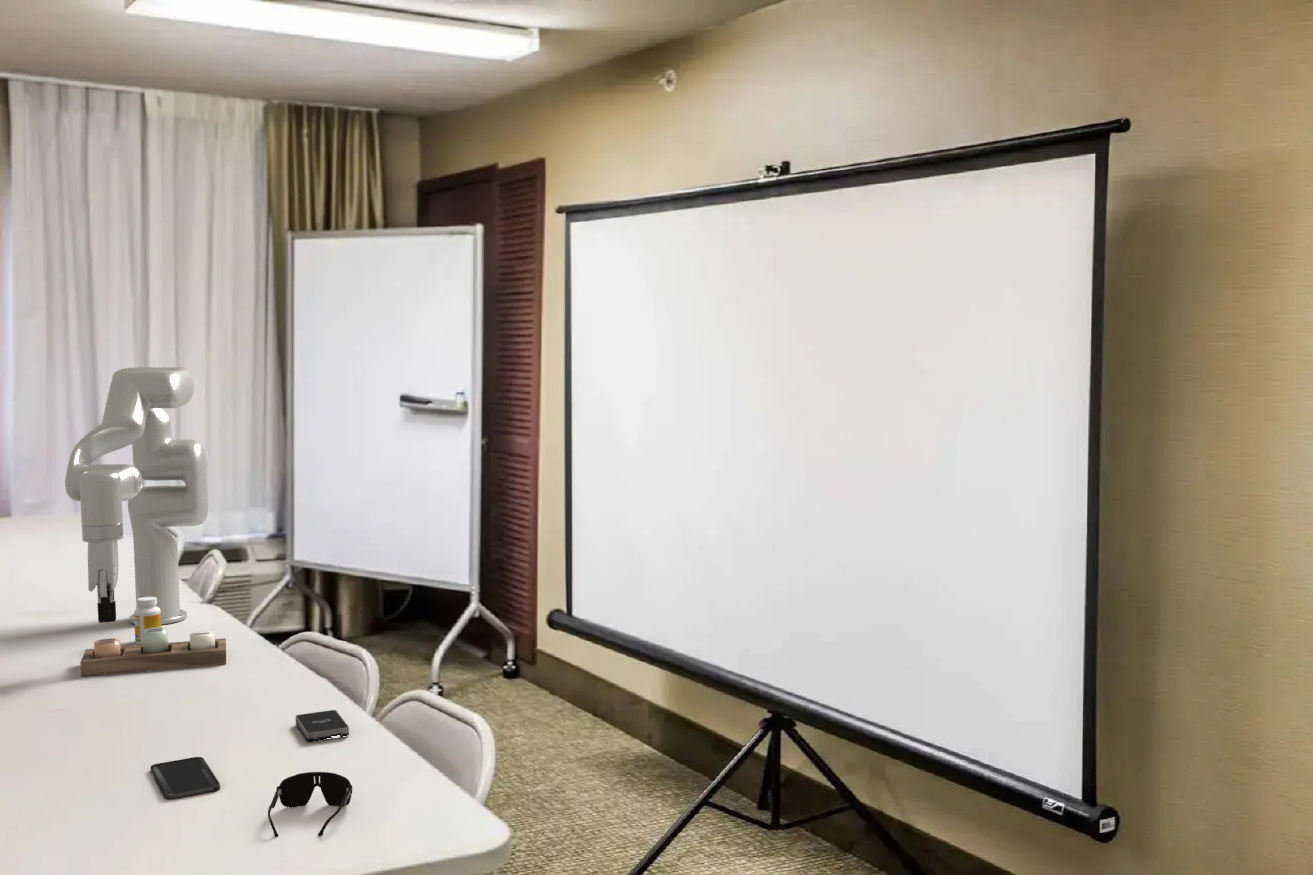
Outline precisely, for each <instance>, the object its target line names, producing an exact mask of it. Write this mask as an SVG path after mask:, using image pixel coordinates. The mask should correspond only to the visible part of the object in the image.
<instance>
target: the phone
mask: <svg viewBox="0 0 1313 875" xmlns="http://www.w3.org/2000/svg"><path fill="white" fill-rule="evenodd" d="M150 774H151V776H152V778H153V779H154V781H155V783H156V785H157V787H158V789H159V791H160V793H161V795H162V798H163V799H164V800H166V801H167V800H168V801H169V800H170V801H172V800H179V799H183V798H188V797H190V798H191V797H195V796H201V795H206V794H211V793H216V792H219V791H220V789H221V785H220V784H221V783H220V781H219V780H218V779H217V777H216V774H214V772H213V770H212V769H211V768H210V766H209V765H208V763H207V761H206V760H205V758H204V757H202V756H193V757H189V758H188V757H187V758H181V759H176V760H171V761H170V760H169V761H165V762H158V763H154V764H152V765H150Z"/></svg>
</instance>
